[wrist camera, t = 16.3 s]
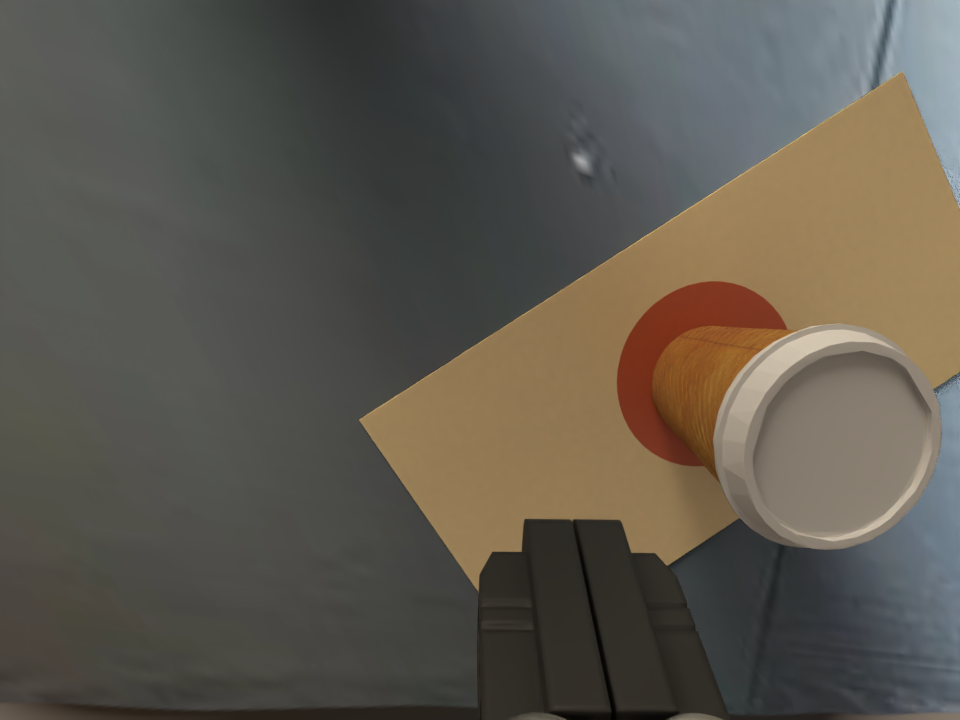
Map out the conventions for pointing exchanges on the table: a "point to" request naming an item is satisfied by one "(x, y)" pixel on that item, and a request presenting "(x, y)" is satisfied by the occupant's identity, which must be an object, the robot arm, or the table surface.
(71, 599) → the table surface
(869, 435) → the disposable coffee cup
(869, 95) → the placemat
